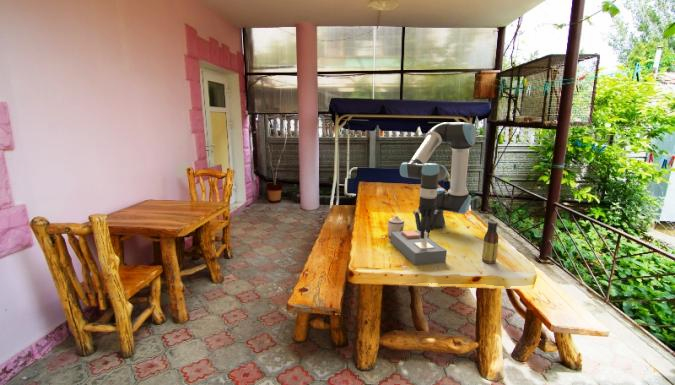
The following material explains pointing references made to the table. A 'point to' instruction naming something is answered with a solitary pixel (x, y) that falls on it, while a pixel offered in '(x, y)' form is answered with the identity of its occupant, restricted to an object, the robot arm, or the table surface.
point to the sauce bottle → (490, 243)
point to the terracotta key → (410, 234)
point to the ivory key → (423, 246)
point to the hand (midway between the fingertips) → (423, 244)
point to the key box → (414, 252)
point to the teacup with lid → (395, 225)
